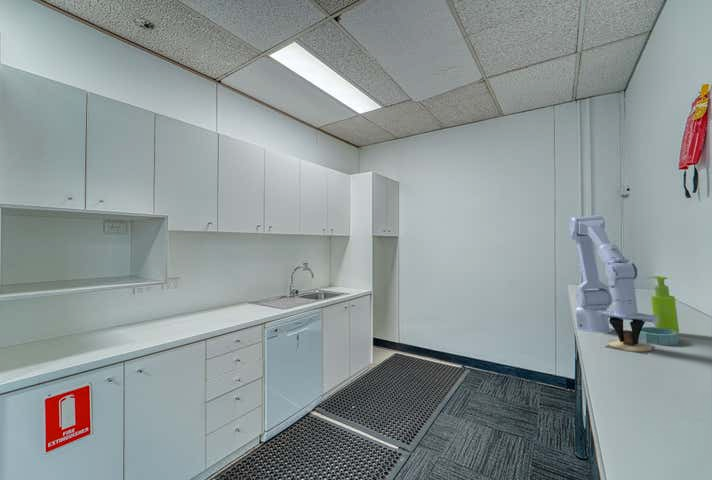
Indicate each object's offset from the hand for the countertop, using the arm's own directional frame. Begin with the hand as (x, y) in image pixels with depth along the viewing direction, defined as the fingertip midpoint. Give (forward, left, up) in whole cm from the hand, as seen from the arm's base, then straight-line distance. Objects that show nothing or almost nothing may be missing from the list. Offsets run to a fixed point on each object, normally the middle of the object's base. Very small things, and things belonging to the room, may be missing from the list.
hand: (629, 342), depth 96 cm
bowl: (+4, +12, -2) cm, 13 cm away
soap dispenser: (+4, +24, -2) cm, 24 cm away
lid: (0, 0, -1) cm, 1 cm away
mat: (0, 0, -2) cm, 2 cm away
